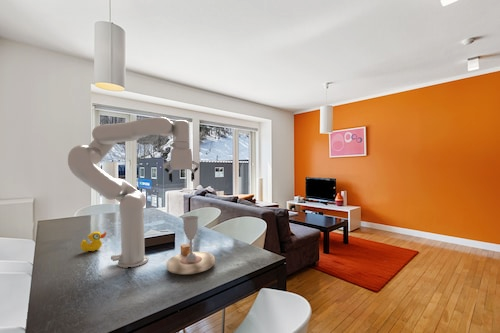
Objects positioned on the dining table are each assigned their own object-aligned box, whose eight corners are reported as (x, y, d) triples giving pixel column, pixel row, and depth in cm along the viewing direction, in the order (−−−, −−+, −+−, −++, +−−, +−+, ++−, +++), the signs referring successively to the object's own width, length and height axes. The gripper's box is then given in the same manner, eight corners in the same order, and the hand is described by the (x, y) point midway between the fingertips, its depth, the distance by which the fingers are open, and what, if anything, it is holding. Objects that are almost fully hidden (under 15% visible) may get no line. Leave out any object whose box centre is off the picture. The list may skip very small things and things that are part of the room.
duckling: (105, 247, 132) (105, 229, 132) (107, 249, 127) (106, 231, 127) (80, 251, 125) (80, 232, 125) (80, 254, 121) (80, 235, 121)
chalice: (185, 256, 106) (185, 216, 106) (201, 256, 106) (200, 215, 106) (180, 263, 99) (179, 219, 99) (197, 263, 99) (196, 219, 99)
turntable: (174, 279, 89) (173, 264, 89) (161, 261, 106) (161, 248, 106) (222, 266, 100) (222, 252, 100) (204, 252, 116) (204, 240, 116)
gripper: (161, 145, 110) (162, 182, 110) (200, 145, 115) (200, 181, 115) (162, 146, 117) (163, 181, 117) (198, 147, 122) (199, 180, 122)
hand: (181, 181), depth 116 cm, fingers open, 9 cm apart
